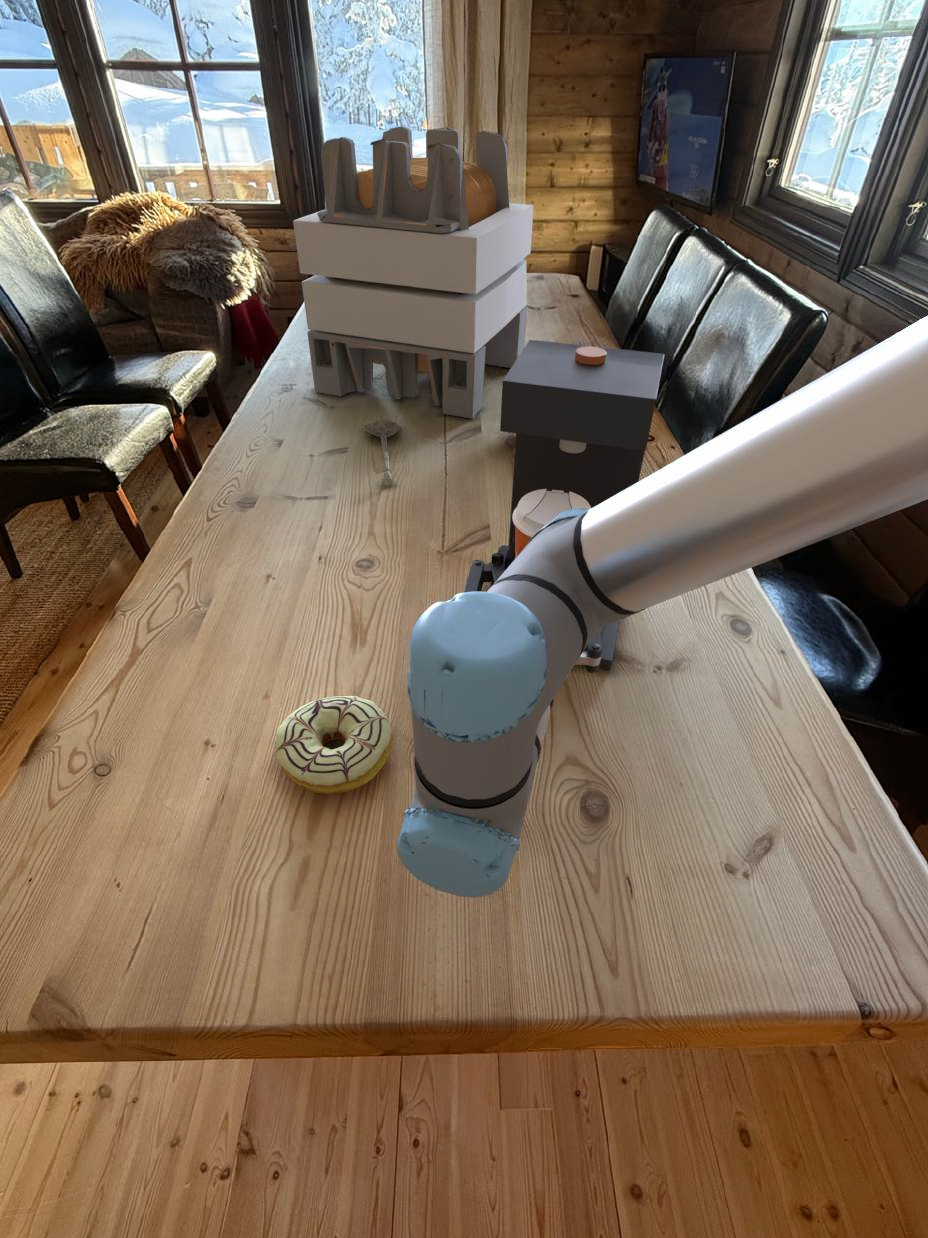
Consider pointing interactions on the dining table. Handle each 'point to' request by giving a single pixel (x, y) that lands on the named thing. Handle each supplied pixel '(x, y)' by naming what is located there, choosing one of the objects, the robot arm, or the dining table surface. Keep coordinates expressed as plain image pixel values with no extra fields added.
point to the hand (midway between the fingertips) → (555, 540)
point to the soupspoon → (383, 441)
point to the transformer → (415, 268)
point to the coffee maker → (579, 424)
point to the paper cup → (541, 512)
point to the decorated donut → (329, 721)
